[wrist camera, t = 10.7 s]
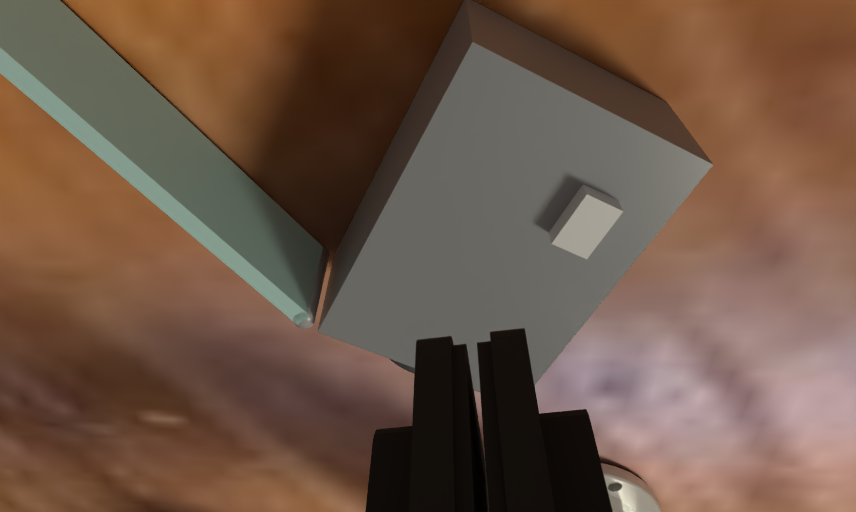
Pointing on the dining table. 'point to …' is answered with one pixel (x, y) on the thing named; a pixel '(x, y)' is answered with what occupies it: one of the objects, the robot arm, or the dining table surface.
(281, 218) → the door
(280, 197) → the dining table surface
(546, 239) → the box
